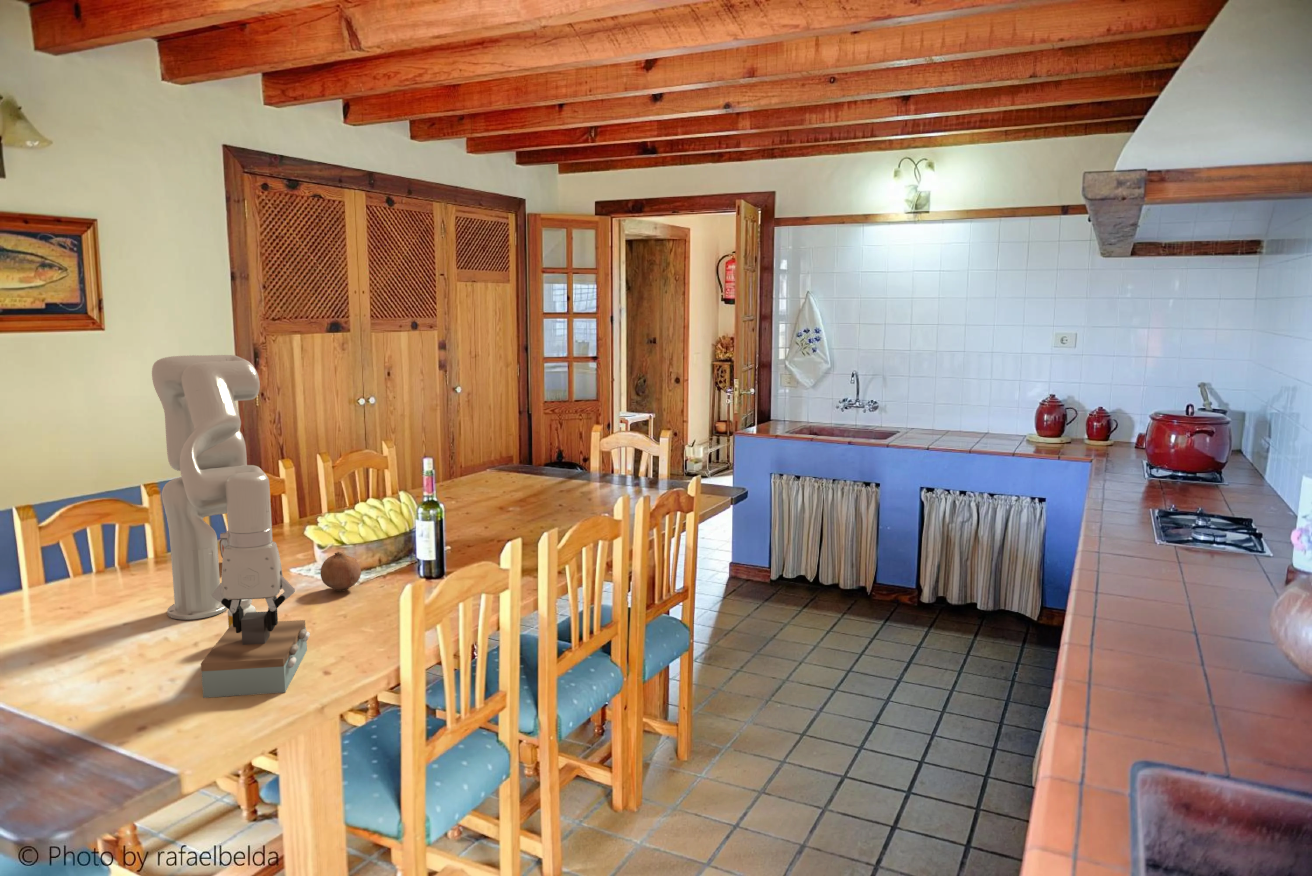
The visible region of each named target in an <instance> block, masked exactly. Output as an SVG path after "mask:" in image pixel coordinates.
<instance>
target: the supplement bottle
mask: <svg viewBox="0 0 1312 876" xmlns="http://www.w3.org/2000/svg"><path fill="white" fill-rule="evenodd" d="M252 602H253V599H243V600H242V601H241V604H240V606H241V608H242V609H243V612H244V615H245V614H246V612H257V609H256V607H255V606H254V605H253V604H252ZM227 623H228V628H229V627H230V626H231V624H233V618H232V613H231V612H230V611H229V609H227Z"/></svg>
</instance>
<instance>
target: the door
mask: <svg viewBox="0 0 1312 876" xmlns="http://www.w3.org/2000/svg"><path fill="white" fill-rule="evenodd" d="M267 611H268V610H267ZM267 611H256V612H246V614H245V615H244V616H243V618H242V619H241V630H242V631H241V632H240V633H236V627H233V624H231V626H230V627H229V626H228V628H227V629H226V631H225V632H224V633H223V635H222V636H221V637H220V638H219V640H218V641H217V642H216V644H215V645H213V647H212V649H211V650H210V651H209V652H208V653H207V655H206V656H205V658H204V659H203V660H202V661H201V663H200V670H201V672H202V671H217V670H233V669H250V668H266V667H283V666H284V665H285V663H286V661H287V660H288V658H289V656H290V655H295V654H296V652H297V650H298V648H299V647H298V645H297V644H296V643H297V641H298V640H299V639H303V638H304V637H305V635H306V633H307V632H308V631H307V629H306V630H305V627H306V619H302V620H301V619H300V620H296V619H295V620H281V621H279V620H278V624H277V625H275V627H274V629H273V630H272V631H268V630H267Z"/></svg>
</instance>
